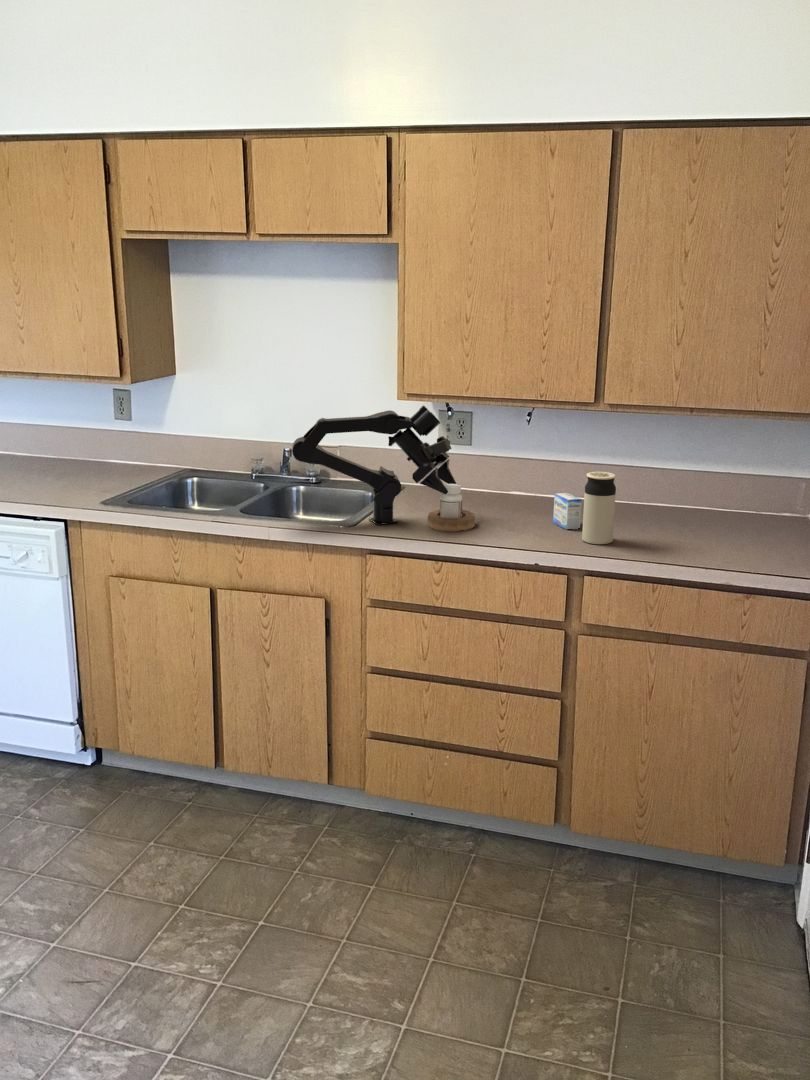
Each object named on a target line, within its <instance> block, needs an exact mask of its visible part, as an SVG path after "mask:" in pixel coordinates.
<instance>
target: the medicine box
mask: <svg viewBox="0 0 810 1080" xmlns="http://www.w3.org/2000/svg"><path fill="white" fill-rule="evenodd" d="M553 501H554V503H553V514H552V515H553V516H552V518H553V519H552V523H553V524H554V523H555V524H554V525H556V524H557V525H556V526H557V527H560V526H561V527H560V528H562V529H564V530H566V529H573V530H579V529H578V528H580V529H581V518H582V503H583V501H582V499H581V498H580V497H577V496H575V495H572V494H571V493H568V492H561V493H555V494H554V500H553Z"/></svg>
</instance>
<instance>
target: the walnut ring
mask: <svg viewBox="0 0 810 1080" xmlns="http://www.w3.org/2000/svg"><path fill="white" fill-rule="evenodd" d="M475 523H476V513H474V512H472V511H471V510H467V509H462V518H443V517H440V509H434V510H432V511H429V512H428V514H427V526H428V527H429V528H431V529H432V528H433V529H432V530H438V531H442V532H460V530H464V531H469V530H471V529H473V527H474V528H475V527H476V526H475V525H476V524H475ZM470 528H471V529H470ZM468 529H469V530H468Z"/></svg>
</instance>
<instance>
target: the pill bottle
mask: <svg viewBox="0 0 810 1080" xmlns="http://www.w3.org/2000/svg"><path fill="white" fill-rule="evenodd" d="M443 484H444V483H443ZM444 485H445V487H446V488H447V490H448V493H447V494H444V493H441V495H440V499H439V503H440V504H439V510H440V517H443V518H462V510H463V496H462V494H461V492H462V491H461V488H462V486H461V485H460V484H458V483H456V484H448V483H445V484H444Z"/></svg>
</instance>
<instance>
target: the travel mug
mask: <svg viewBox="0 0 810 1080" xmlns="http://www.w3.org/2000/svg"><path fill="white" fill-rule="evenodd" d="M586 477H587V482H586V483H585V485H584V499H583V500H584V501H583V512H582V513H583V516H582V533H581V534H582V535H581V536H582V537H581V540H582V541H584V542H585V543H587V544H590V545H608V544H610V543H613V540H614V538H613V537H614V526H615V524H614V523H615V506H616V496H617V495H616V494H617V493H616V492H617V487H616V485H615V478H616V477H617V476H616V474H614V473H613V472H608V471H592V472H591V471H590V472H587V473H586Z"/></svg>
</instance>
